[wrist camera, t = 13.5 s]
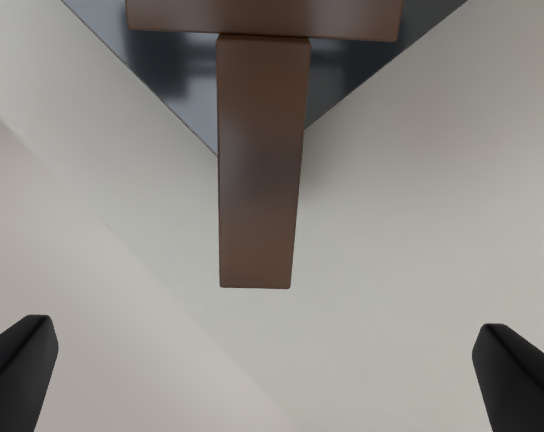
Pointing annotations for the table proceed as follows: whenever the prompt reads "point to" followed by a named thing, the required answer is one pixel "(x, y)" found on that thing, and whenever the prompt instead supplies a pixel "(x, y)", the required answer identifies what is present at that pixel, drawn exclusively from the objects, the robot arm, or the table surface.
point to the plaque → (202, 60)
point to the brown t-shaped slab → (263, 111)
